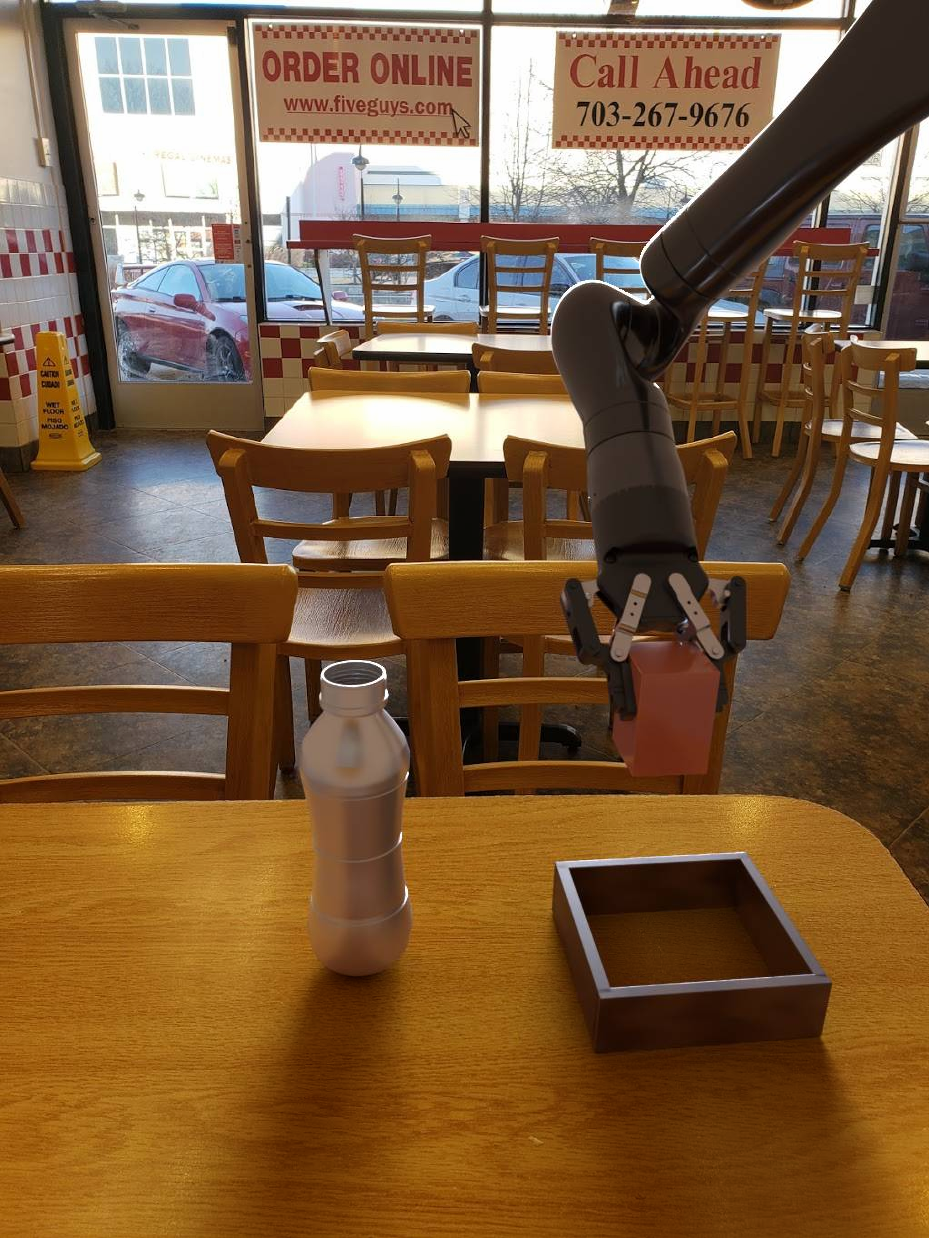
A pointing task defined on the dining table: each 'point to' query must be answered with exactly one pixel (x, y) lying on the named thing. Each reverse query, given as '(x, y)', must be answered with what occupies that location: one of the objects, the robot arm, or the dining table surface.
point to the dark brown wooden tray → (697, 1007)
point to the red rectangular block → (669, 710)
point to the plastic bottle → (356, 823)
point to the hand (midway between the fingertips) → (671, 716)
